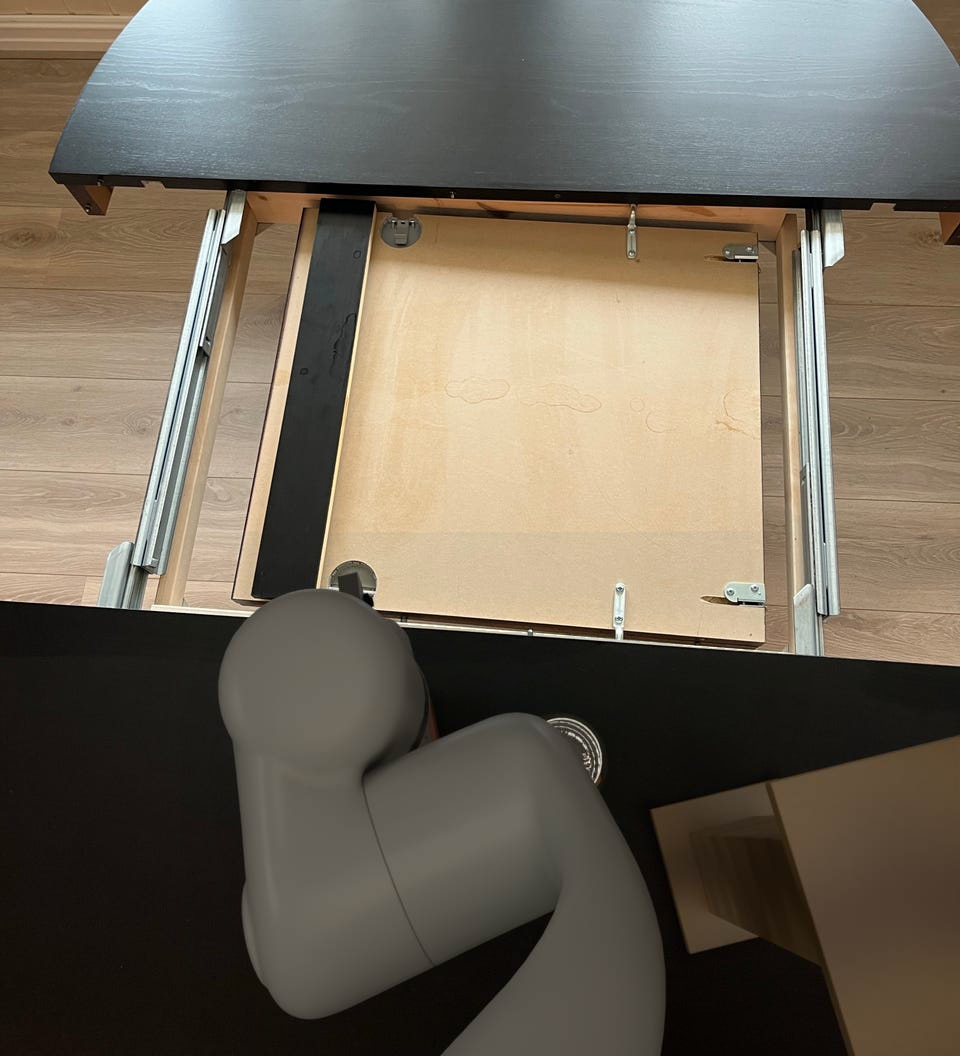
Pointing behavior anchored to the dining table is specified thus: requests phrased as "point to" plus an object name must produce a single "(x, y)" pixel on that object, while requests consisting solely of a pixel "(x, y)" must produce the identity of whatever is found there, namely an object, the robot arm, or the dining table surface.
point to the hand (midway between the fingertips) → (390, 729)
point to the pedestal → (838, 886)
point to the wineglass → (583, 743)
